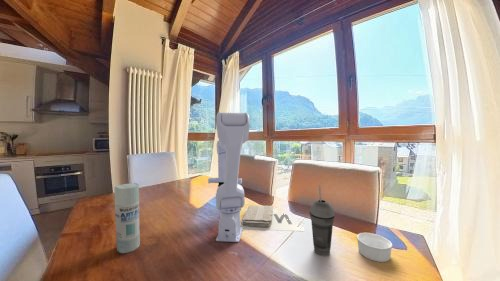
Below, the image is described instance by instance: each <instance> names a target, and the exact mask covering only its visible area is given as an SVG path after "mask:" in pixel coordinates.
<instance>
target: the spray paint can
mask: <svg viewBox="0 0 500 281" xmlns="http://www.w3.org/2000/svg"><path fill="white" fill-rule="evenodd" d="M113 189H114V190H113V191H114V213H115V215H114V216H115V232H116V233H115V234H116V235H115V236H116V238H115V239H116V251H117V253H119V254H128V253H130V252H133V251H135V250H137V249H138V248H139V247H140V243H141V236H140V235H141V234H140V190H139V189H140V186H139V184H138V183H135V182H133V183H124V184H119V185H116V186H115V187H114V188H113Z"/></svg>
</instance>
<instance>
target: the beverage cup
mask: <svg viewBox="0 0 500 281" xmlns="http://www.w3.org/2000/svg"><path fill="white" fill-rule="evenodd" d="M318 196H319V199H318V200H315V201H314V202H313V203H312V204H311V206H310V209H309V216H310V221H311V232H312V243H313V250H314V253H316V254H317V255H319V256H321V257H325V256H329V255H330V253H331V247H332V238H333V237H332V236H333V228H334V227H333V226H334V221H335V217H336V214H335V211H334V208H333V205H332V204H330V202H328V201H326V200H323V199H322V189H321V185H320V184H319V185H318Z"/></svg>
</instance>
